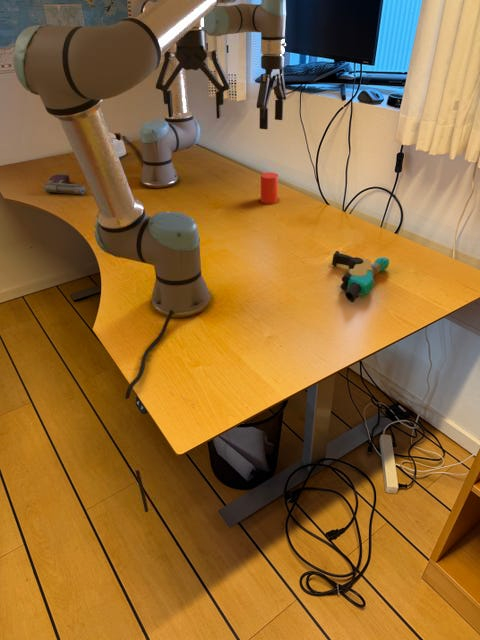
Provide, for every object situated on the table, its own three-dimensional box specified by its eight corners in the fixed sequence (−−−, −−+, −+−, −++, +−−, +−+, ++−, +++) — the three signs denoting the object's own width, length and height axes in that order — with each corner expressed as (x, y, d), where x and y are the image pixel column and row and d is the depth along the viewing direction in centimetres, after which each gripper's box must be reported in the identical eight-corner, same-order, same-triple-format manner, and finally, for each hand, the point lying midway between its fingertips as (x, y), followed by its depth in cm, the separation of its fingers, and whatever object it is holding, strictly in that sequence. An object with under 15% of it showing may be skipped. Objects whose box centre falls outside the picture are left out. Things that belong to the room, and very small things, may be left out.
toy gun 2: (311, 281, 124) (367, 296, 118) (342, 242, 143) (392, 253, 137) (309, 296, 127) (365, 311, 121) (340, 255, 145) (389, 267, 139)
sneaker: (78, 170, 212) (72, 142, 204) (110, 151, 234) (106, 126, 226) (99, 172, 209) (94, 144, 202) (129, 153, 231) (126, 127, 224)
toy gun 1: (99, 183, 198) (82, 197, 186) (58, 181, 201) (39, 194, 189) (97, 174, 195) (80, 188, 184) (55, 172, 199) (36, 184, 187)
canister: (269, 196, 185) (270, 171, 179) (280, 201, 181) (281, 175, 175) (257, 200, 182) (257, 174, 176) (268, 205, 178) (268, 179, 172)
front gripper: (239, 27, 124) (240, 114, 136) (145, 27, 126) (154, 113, 138) (236, 30, 118) (237, 120, 130) (138, 30, 120) (148, 119, 132)
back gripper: (268, 60, 142) (267, 134, 154) (297, 50, 160) (294, 117, 173) (245, 59, 145) (246, 131, 157) (276, 49, 163) (274, 115, 175)
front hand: (194, 117), depth 134 cm, fingers open, 13 cm apart
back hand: (271, 124), depth 165 cm, fingers open, 13 cm apart
